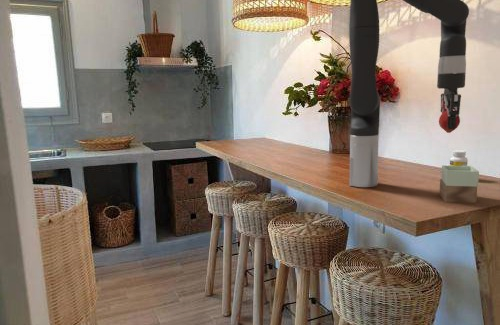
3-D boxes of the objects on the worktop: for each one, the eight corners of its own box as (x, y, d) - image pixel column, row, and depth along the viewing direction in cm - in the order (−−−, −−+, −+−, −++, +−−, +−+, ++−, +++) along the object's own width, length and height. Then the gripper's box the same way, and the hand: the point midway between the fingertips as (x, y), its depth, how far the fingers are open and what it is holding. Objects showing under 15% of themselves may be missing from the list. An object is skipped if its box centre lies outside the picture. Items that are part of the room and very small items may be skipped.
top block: (446, 185, 112) (447, 171, 111) (441, 179, 119) (442, 165, 118) (477, 186, 109) (479, 171, 109) (470, 179, 117) (471, 166, 116)
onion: (440, 131, 126) (442, 106, 125) (460, 132, 123) (462, 106, 121) (436, 133, 122) (437, 107, 120) (457, 134, 118) (458, 107, 117)
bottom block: (445, 202, 113) (446, 185, 112) (439, 195, 120) (440, 179, 119) (476, 203, 111) (477, 186, 110) (468, 195, 118) (469, 179, 117)
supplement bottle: (445, 178, 140) (447, 150, 138) (456, 176, 142) (458, 149, 140) (458, 181, 135) (460, 152, 133) (470, 179, 137) (471, 151, 135)
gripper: (433, 73, 127) (430, 125, 130) (443, 72, 113) (440, 130, 116) (458, 72, 125) (455, 125, 128) (472, 70, 111) (469, 130, 114)
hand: (448, 127), depth 122 cm, fingers closed on onion, 6 cm apart
